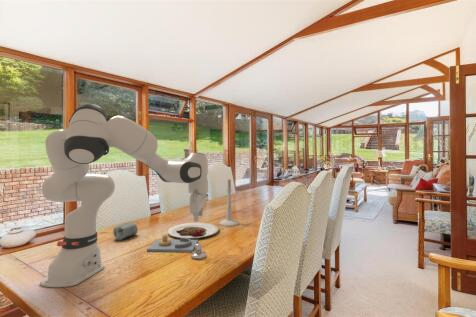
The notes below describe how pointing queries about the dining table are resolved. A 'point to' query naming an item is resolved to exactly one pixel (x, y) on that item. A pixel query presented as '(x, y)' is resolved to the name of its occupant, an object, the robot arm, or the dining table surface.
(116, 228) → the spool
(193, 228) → the plated food
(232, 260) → the dining table surface
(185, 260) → the dining table surface
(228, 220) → the grey rod on disc
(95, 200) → the robot arm
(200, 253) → the silver rounded piece
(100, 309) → the dining table surface
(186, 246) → the carrier
